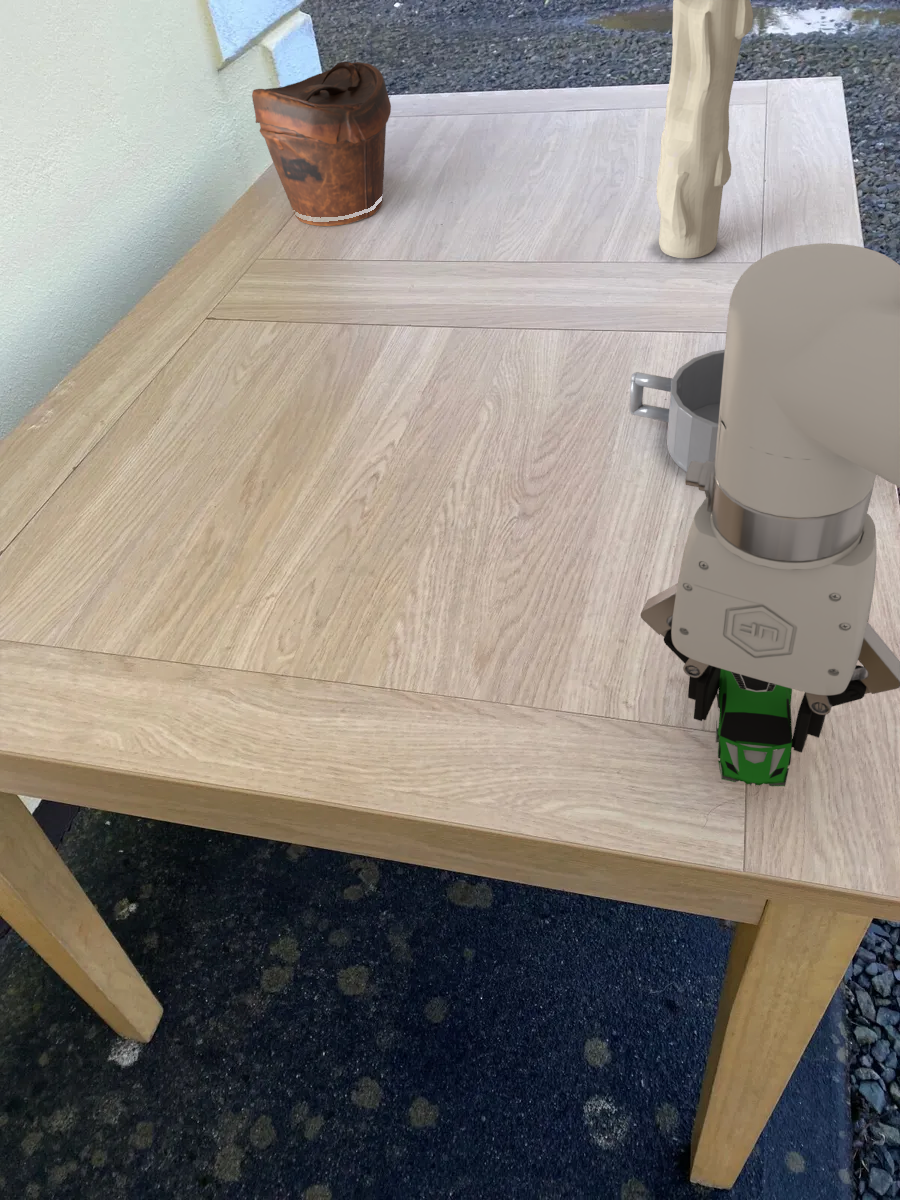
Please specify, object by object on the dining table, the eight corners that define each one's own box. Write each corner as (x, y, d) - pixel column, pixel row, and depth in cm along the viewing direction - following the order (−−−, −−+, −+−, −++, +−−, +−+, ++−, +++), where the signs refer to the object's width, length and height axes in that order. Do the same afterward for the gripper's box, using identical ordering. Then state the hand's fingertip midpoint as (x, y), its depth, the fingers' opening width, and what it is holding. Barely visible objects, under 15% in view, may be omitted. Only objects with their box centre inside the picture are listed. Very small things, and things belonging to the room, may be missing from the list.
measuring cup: (829, 418, 85) (842, 361, 80) (793, 502, 77) (805, 444, 73) (652, 385, 92) (655, 331, 87) (603, 459, 84) (605, 404, 80)
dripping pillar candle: (736, 251, 109) (773, -49, 88) (677, 272, 107) (700, -30, 86) (693, 227, 115) (718, -60, 94) (636, 246, 113) (648, -43, 92)
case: (412, 176, 137) (394, 41, 124) (392, 234, 123) (369, 89, 110) (298, 184, 139) (269, 52, 127) (265, 242, 126) (229, 101, 113)
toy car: (793, 792, 55) (798, 770, 54) (713, 783, 56) (715, 761, 55) (789, 668, 62) (793, 645, 60) (717, 662, 63) (719, 640, 62)
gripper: (602, 509, 48) (606, 721, 60) (963, 589, 41) (883, 811, 53) (651, 430, 52) (646, 643, 65) (986, 490, 45) (906, 717, 58)
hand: (753, 717), depth 59 cm, fingers closed on toy car, 5 cm apart
